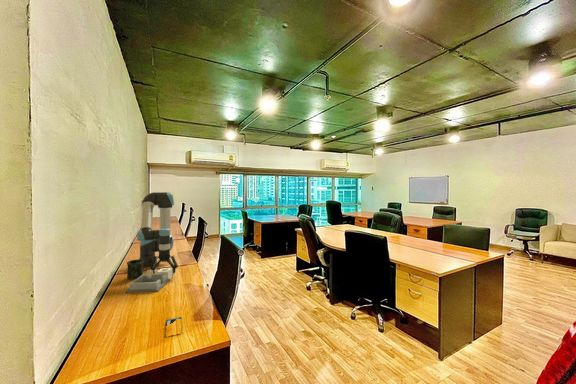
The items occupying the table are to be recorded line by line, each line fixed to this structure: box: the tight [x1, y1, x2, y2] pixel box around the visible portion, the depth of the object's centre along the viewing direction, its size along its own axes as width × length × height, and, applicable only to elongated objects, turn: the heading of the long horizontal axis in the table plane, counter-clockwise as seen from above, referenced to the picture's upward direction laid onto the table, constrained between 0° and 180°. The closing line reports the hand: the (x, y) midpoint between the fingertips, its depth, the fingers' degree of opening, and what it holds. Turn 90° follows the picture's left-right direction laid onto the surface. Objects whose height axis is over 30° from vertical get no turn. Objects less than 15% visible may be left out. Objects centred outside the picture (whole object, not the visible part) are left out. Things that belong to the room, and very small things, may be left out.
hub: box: [156, 267, 173, 279], centre depth 182 cm, size 13×8×6 cm, turn 6°
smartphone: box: [164, 316, 182, 326], centre depth 116 cm, size 7×1×15 cm
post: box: [146, 268, 153, 282], centre depth 164 cm, size 3×3×10 cm
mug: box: [126, 259, 144, 280], centre depth 179 cm, size 11×15×12 cm
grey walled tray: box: [125, 273, 171, 294], centre depth 164 cm, size 20×20×5 cm
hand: (164, 277), depth 180 cm, fingers open, 12 cm apart
